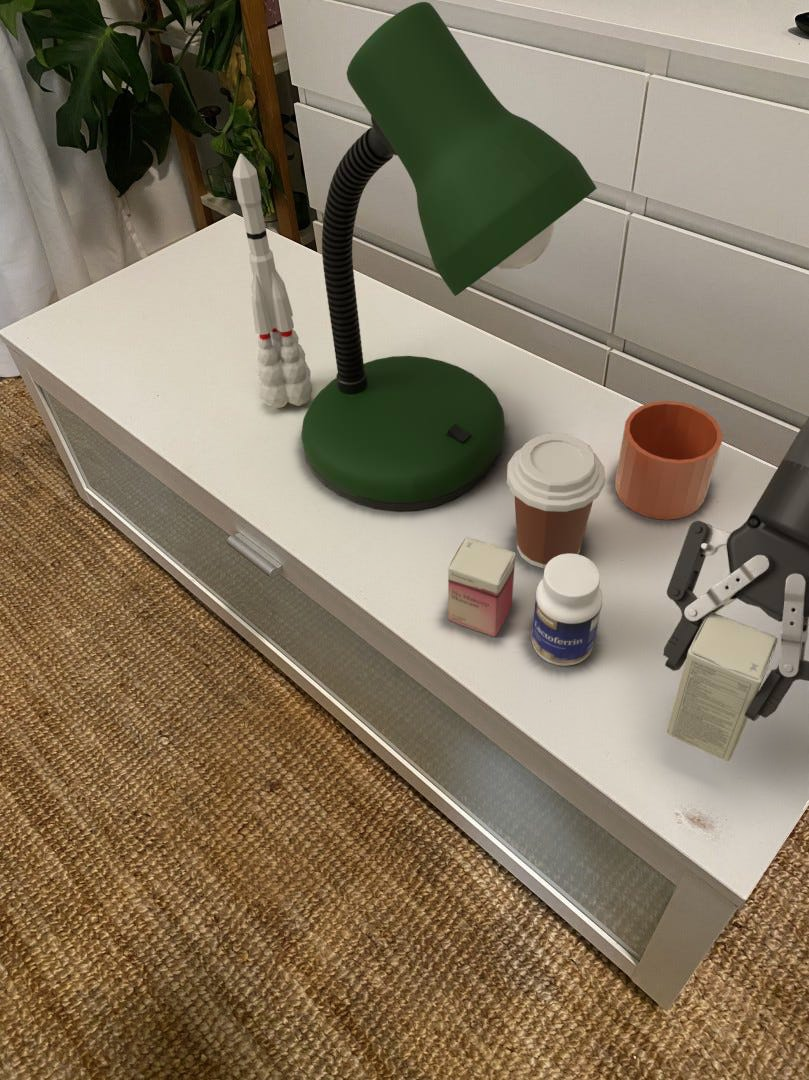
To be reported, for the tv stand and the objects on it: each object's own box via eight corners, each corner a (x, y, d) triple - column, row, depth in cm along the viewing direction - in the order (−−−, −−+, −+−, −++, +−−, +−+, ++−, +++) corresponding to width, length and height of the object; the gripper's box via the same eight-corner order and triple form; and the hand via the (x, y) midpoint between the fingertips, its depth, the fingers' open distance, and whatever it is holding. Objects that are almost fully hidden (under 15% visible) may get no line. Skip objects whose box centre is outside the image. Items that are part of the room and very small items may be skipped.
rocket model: (330, 392, 106) (293, 148, 84) (290, 425, 102) (240, 178, 80) (286, 372, 109) (239, 132, 87) (246, 403, 105) (186, 160, 83)
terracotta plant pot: (717, 475, 93) (734, 417, 87) (688, 531, 87) (704, 474, 81) (634, 448, 96) (644, 391, 90) (601, 500, 91) (610, 444, 85)
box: (746, 720, 67) (784, 638, 59) (728, 764, 65) (764, 684, 57) (681, 691, 69) (709, 608, 61) (661, 732, 67) (687, 651, 59)
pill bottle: (523, 657, 78) (528, 589, 71) (540, 610, 82) (547, 540, 74) (585, 675, 77) (597, 608, 69) (600, 627, 80) (613, 557, 73)
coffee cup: (562, 594, 83) (573, 507, 74) (485, 551, 87) (487, 464, 78) (611, 537, 87) (627, 450, 78) (536, 500, 92) (543, 412, 83)
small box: (447, 621, 82) (445, 567, 76) (465, 588, 84) (465, 534, 78) (496, 639, 80) (498, 585, 74) (513, 605, 82) (517, 551, 76)
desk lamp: (603, 451, 96) (674, -7, 63) (486, 577, 85) (498, 101, 51) (390, 357, 110) (356, -59, 76) (266, 455, 99) (163, 17, 65)
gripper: (728, 426, 58) (607, 639, 61) (951, 525, 51) (799, 761, 54) (749, 444, 64) (638, 637, 68) (950, 535, 57) (814, 745, 60)
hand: (711, 691), depth 61 cm, fingers closed on box, 5 cm apart
